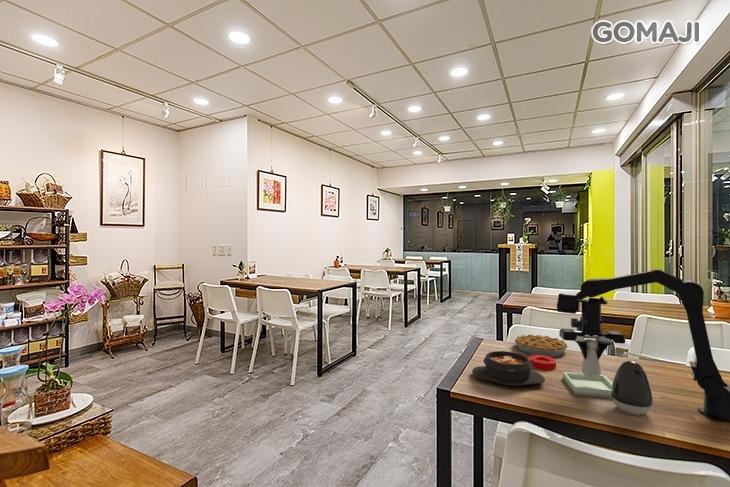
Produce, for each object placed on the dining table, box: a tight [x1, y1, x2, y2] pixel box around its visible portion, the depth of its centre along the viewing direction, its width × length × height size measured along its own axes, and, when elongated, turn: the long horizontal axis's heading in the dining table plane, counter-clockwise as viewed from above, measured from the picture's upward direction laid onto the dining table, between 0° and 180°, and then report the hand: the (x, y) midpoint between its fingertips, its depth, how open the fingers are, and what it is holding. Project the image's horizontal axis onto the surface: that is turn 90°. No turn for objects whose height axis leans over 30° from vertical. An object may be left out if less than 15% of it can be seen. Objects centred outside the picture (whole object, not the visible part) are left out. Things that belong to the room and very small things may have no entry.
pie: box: [514, 334, 569, 358], centre depth 165 cm, size 22×22×5 cm
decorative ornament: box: [529, 354, 557, 371], centre depth 145 cm, size 10×10×3 cm
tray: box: [562, 371, 613, 399], centre depth 124 cm, size 14×14×2 cm
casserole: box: [471, 350, 546, 387], centre depth 132 cm, size 25×19×8 cm
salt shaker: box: [580, 338, 602, 380], centre depth 124 cm, size 6×6×13 cm
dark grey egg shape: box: [611, 360, 654, 416], centre depth 108 cm, size 10×10×15 cm
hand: (591, 360), depth 124 cm, fingers closed on salt shaker, 3 cm apart
